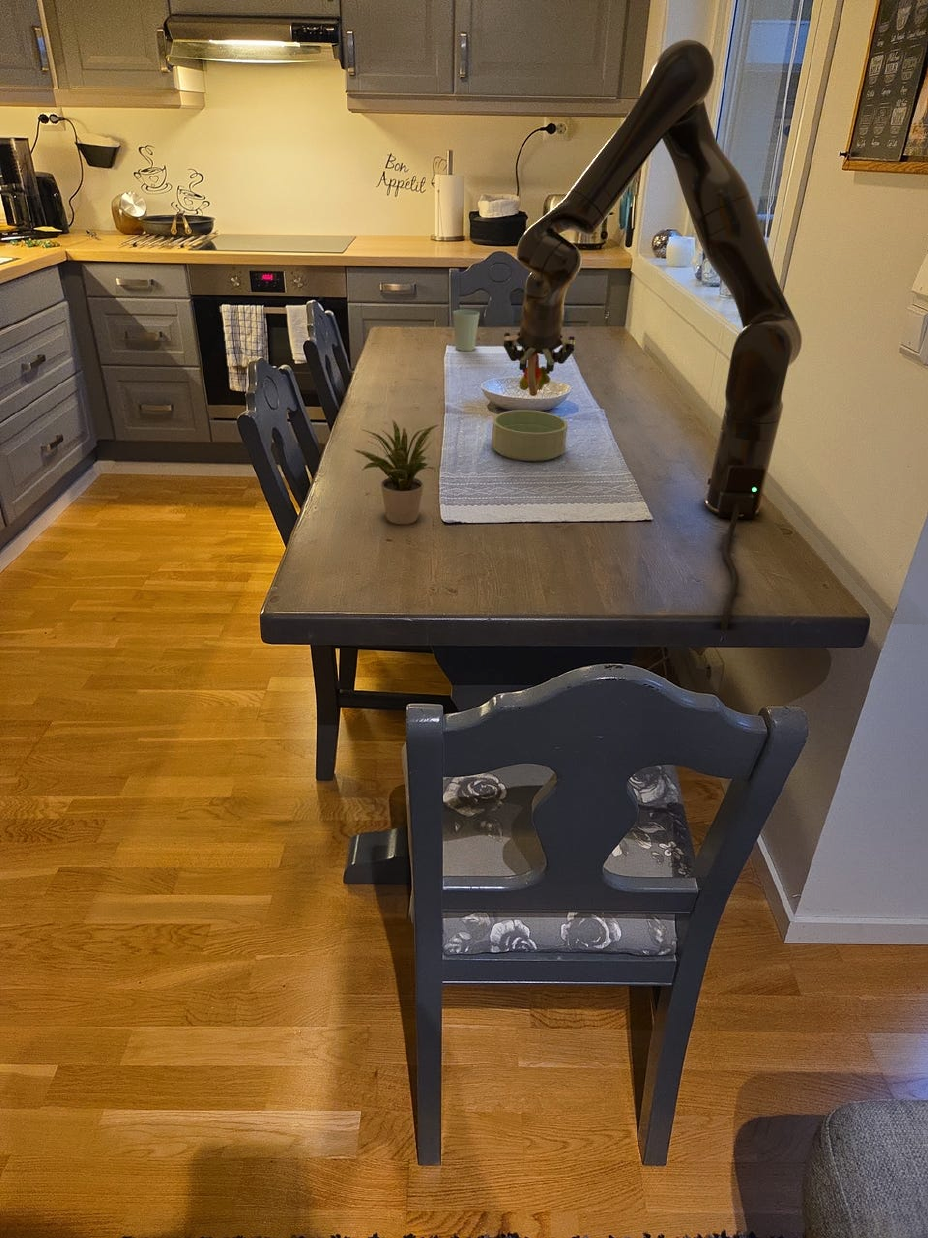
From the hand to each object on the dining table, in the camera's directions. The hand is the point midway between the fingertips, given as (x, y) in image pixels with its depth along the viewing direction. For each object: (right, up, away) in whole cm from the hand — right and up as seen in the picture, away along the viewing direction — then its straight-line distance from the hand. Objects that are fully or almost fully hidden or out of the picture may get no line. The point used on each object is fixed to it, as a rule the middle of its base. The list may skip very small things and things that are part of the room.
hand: (535, 368), depth 166 cm
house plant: (-25, -32, -23) cm, 46 cm away
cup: (-14, +30, +82) cm, 88 cm away
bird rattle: (-1, -5, +1) cm, 5 cm away
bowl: (-1, -15, +8) cm, 16 cm away
